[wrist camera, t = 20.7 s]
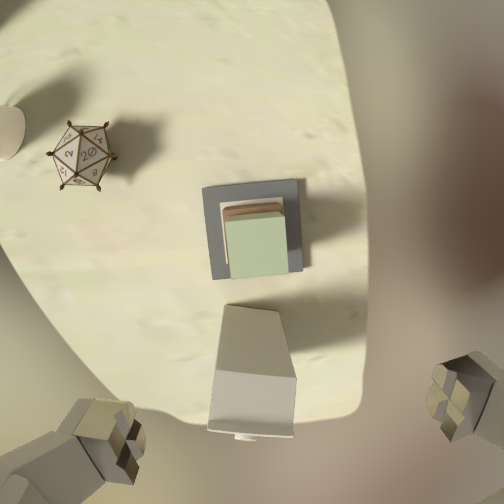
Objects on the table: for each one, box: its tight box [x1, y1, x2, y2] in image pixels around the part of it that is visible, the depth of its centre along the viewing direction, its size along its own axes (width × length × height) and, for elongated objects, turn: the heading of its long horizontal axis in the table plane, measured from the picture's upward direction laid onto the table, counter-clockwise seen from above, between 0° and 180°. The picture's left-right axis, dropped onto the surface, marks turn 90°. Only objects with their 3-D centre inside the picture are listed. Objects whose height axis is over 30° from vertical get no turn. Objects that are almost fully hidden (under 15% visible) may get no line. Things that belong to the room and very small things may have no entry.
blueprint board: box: [202, 180, 303, 280], centre depth 37 cm, size 11×11×1 cm
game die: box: [46, 120, 117, 192], centre depth 31 cm, size 9×8×10 cm
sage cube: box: [225, 211, 289, 279], centre depth 29 cm, size 5×5×5 cm
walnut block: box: [222, 202, 283, 269], centre depth 34 cm, size 6×6×5 cm
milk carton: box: [207, 305, 297, 441], centre depth 31 cm, size 7×7×19 cm
